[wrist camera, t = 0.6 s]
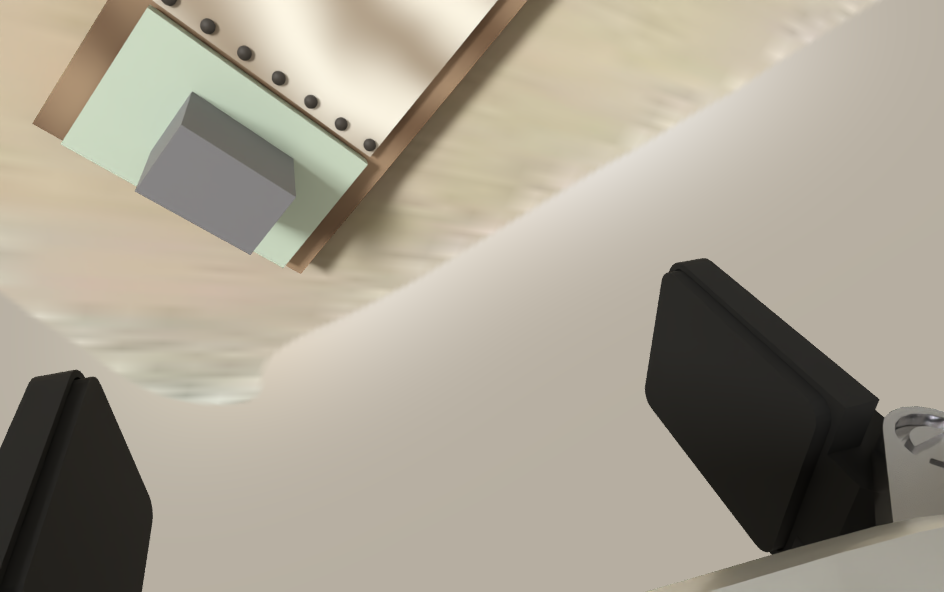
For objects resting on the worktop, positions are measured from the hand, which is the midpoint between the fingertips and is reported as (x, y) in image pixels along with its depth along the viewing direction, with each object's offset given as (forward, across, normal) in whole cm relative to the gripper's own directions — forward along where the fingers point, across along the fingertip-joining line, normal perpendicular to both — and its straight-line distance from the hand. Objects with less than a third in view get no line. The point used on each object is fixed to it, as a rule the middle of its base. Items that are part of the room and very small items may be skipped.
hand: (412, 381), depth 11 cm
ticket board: (+31, 0, 0) cm, 31 cm away
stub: (+29, +5, +5) cm, 29 cm away
